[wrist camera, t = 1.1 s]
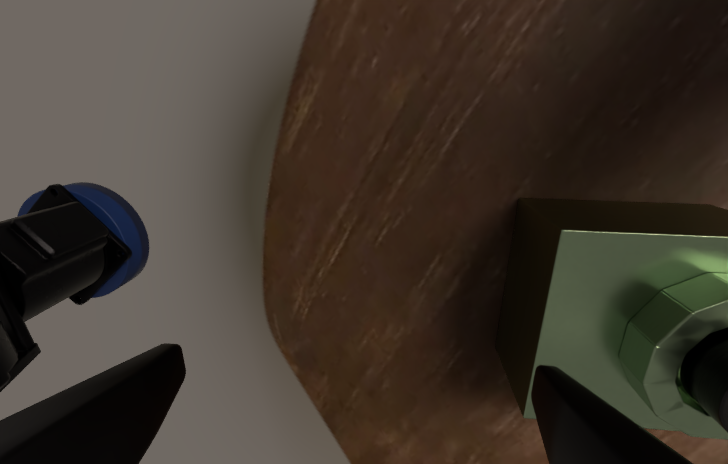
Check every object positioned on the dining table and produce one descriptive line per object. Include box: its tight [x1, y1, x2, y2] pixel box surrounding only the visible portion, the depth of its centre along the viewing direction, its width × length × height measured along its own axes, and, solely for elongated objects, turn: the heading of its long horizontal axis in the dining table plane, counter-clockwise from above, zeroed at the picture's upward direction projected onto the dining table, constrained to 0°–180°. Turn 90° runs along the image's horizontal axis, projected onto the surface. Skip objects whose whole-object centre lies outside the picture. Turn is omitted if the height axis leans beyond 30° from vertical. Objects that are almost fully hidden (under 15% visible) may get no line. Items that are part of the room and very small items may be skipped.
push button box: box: [495, 198, 728, 440], centre depth 18 cm, size 10×10×8 cm
